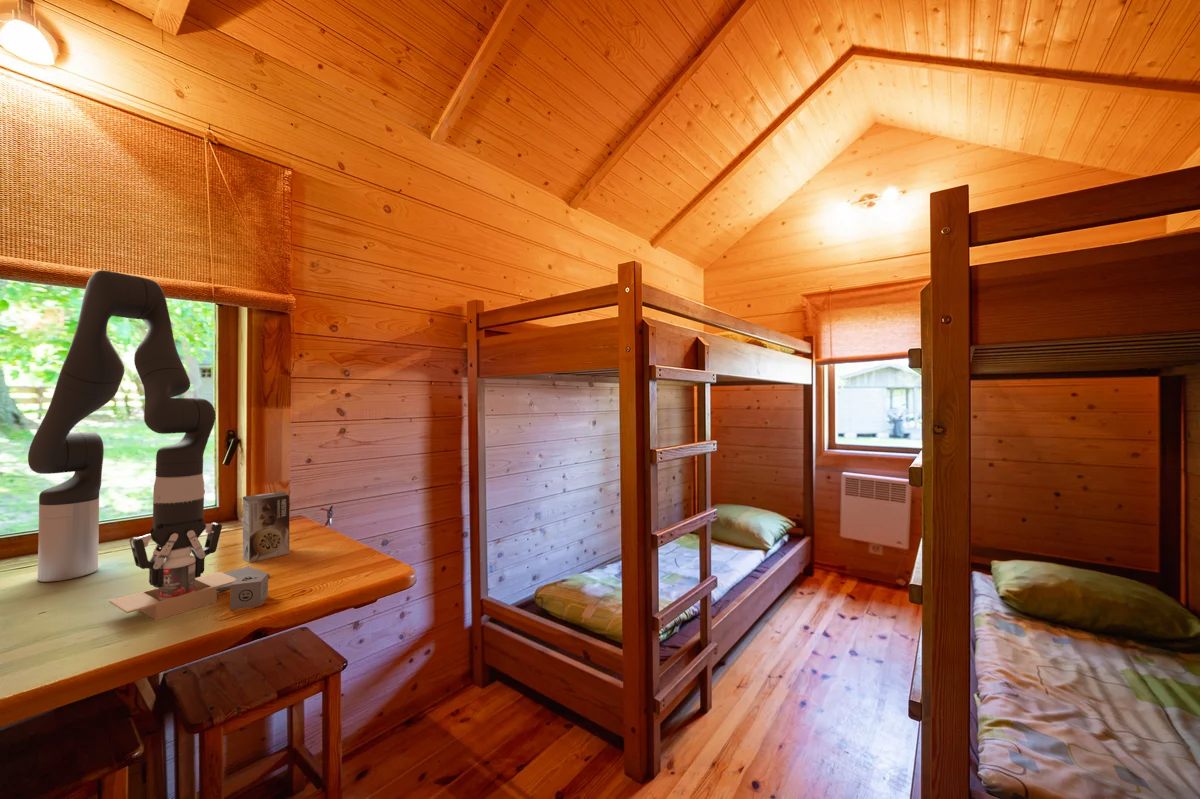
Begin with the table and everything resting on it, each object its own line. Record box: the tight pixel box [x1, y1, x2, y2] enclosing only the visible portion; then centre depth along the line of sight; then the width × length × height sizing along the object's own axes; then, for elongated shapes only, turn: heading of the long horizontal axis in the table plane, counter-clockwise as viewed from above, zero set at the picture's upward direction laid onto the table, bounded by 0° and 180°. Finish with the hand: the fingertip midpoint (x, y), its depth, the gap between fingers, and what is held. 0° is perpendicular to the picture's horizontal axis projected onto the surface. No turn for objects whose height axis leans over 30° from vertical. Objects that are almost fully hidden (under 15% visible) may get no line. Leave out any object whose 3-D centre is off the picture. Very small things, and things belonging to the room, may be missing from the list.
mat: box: [217, 566, 271, 593], centre depth 105 cm, size 10×10×1 cm
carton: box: [108, 571, 237, 621], centre depth 92 cm, size 9×17×3 cm, turn 151°
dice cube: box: [229, 572, 269, 611], centre depth 94 cm, size 5×5×5 cm
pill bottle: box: [159, 546, 196, 601], centre depth 92 cm, size 5×5×10 cm
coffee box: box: [242, 491, 291, 563], centre depth 122 cm, size 9×6×16 cm
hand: (177, 581), depth 92 cm, fingers closed on pill bottle, 5 cm apart
